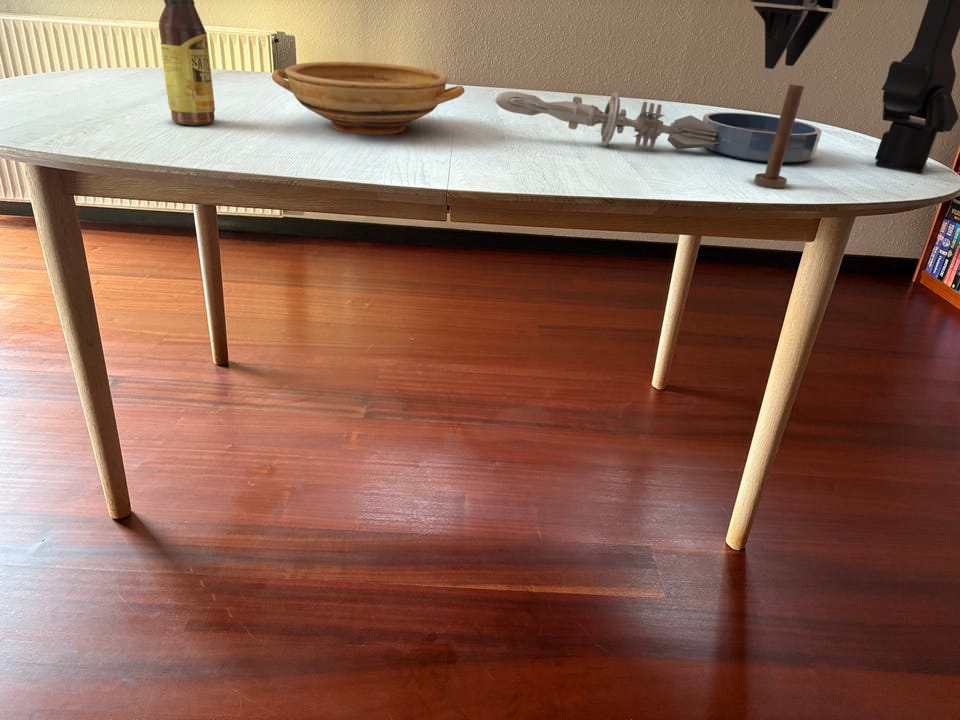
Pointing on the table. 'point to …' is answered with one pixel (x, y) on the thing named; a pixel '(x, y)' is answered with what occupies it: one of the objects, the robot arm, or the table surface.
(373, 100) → the ceramic bowl
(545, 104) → the spaceship
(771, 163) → the stirring stick
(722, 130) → the mixing bowl
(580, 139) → the table surface
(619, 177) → the table surface
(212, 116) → the sauce bottle
